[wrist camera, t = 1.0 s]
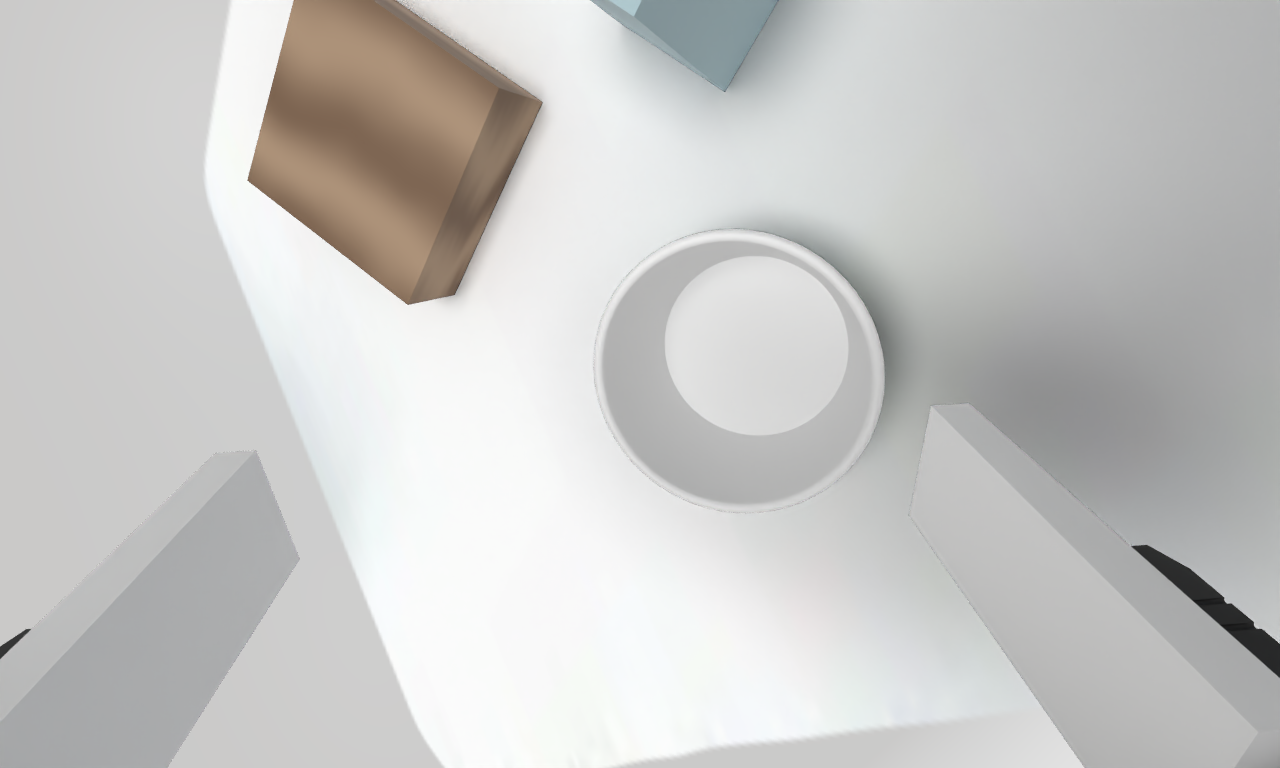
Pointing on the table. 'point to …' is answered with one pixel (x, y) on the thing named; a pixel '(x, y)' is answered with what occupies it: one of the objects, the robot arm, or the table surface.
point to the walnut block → (388, 141)
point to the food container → (739, 371)
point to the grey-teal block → (696, 30)
